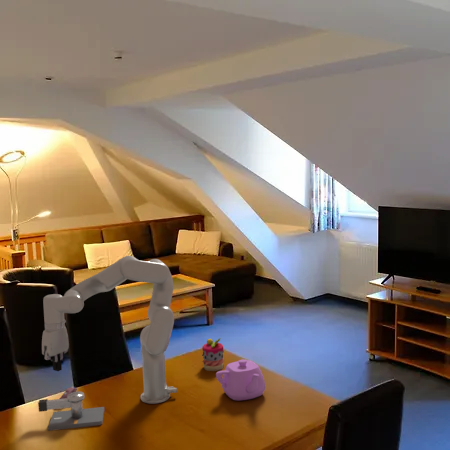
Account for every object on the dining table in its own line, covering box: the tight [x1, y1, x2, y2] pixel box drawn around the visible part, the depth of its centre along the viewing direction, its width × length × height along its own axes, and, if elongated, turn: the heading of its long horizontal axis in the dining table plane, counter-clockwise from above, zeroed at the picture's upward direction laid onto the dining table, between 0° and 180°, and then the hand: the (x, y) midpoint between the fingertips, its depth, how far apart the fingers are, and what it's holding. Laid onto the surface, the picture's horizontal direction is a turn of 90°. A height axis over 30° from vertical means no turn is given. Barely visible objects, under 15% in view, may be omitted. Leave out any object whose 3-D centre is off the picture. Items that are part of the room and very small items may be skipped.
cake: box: [201, 337, 225, 372], centre depth 248 cm, size 10×10×15 cm
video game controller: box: [58, 386, 78, 399], centre depth 217 cm, size 10×5×7 cm, turn 169°
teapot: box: [215, 358, 266, 401], centre depth 214 cm, size 23×21×15 cm
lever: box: [37, 390, 85, 419], centre depth 199 cm, size 17×6×9 cm, turn 99°
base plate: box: [47, 406, 105, 431], centre depth 200 cm, size 20×12×2 cm, turn 99°
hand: (57, 369), depth 203 cm, fingers closed
